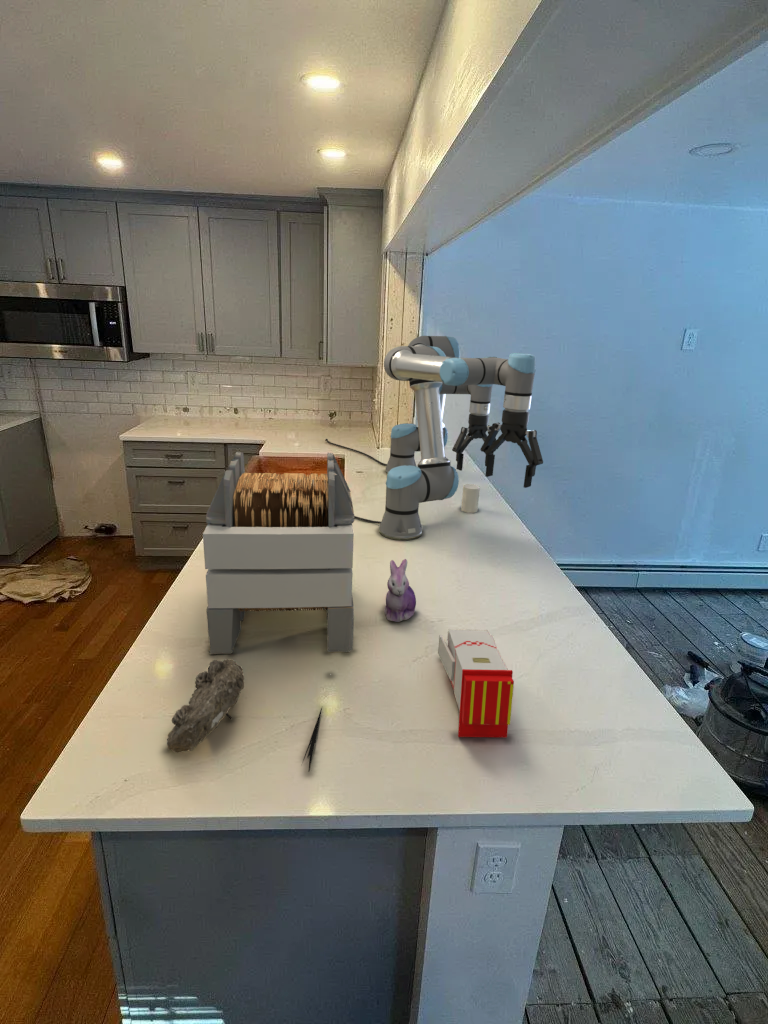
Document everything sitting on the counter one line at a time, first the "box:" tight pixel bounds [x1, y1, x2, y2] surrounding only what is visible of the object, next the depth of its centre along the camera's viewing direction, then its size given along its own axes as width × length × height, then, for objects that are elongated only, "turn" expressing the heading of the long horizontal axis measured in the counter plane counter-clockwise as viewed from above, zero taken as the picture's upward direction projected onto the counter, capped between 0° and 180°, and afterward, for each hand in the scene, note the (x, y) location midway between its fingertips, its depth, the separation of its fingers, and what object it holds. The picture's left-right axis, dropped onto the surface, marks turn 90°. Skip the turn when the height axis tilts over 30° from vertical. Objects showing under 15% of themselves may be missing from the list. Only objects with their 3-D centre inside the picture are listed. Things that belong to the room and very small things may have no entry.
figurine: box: [384, 558, 417, 623], centre depth 145 cm, size 9×10×15 cm
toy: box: [437, 628, 515, 738], centre depth 117 cm, size 12×13×30 cm
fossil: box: [166, 658, 245, 754], centre depth 106 cm, size 22×10×15 cm
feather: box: [301, 673, 332, 771], centre depth 108 cm, size 2×28×2 cm
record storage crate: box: [202, 451, 355, 655], centre depth 137 cm, size 34×33×41 cm
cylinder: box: [460, 483, 481, 514], centre depth 226 cm, size 7×7×10 cm
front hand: (507, 481), depth 169 cm, fingers open, 13 cm apart
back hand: (473, 468), depth 221 cm, fingers open, 13 cm apart
